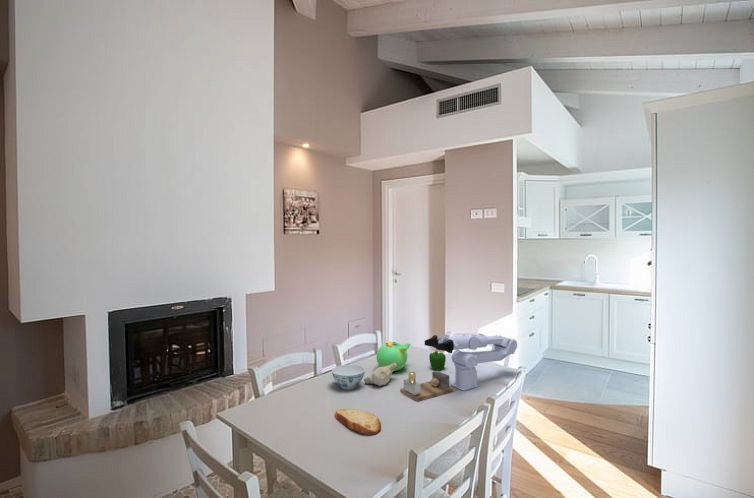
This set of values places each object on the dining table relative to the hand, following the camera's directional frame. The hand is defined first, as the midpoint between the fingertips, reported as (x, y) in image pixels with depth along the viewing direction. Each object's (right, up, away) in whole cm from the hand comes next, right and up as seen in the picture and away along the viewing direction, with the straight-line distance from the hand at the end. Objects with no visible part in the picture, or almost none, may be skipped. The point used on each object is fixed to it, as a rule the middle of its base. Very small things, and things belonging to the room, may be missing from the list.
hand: (430, 344), depth 163 cm
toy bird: (-15, -21, +34) cm, 42 cm away
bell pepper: (+8, -21, +35) cm, 42 cm away
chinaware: (-36, -22, +11) cm, 43 cm away
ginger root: (-20, -22, +16) cm, 34 cm away
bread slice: (-30, -23, -24) cm, 45 cm away
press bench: (-1, -22, +4) cm, 22 cm away
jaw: (-8, -20, 0) cm, 21 cm away
